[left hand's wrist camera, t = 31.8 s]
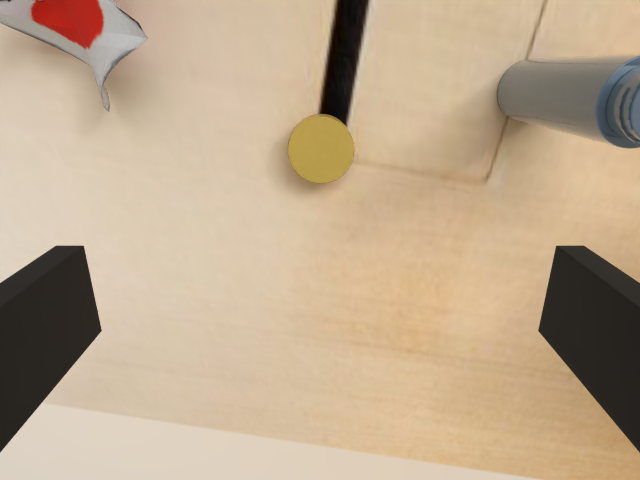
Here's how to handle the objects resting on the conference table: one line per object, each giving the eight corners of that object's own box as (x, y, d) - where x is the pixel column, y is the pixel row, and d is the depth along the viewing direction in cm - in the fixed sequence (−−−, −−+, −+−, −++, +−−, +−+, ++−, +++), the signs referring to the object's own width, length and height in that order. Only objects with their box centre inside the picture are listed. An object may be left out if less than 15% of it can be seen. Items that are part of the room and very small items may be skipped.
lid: (323, 100, 36) (323, 102, 34) (365, 148, 37) (367, 153, 35) (276, 143, 37) (274, 148, 35) (318, 189, 38) (318, 196, 36)
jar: (545, 47, 34) (714, 31, 20) (563, 102, 36) (732, 126, 21) (488, 78, 35) (609, 84, 20) (508, 131, 37) (634, 172, 22)
